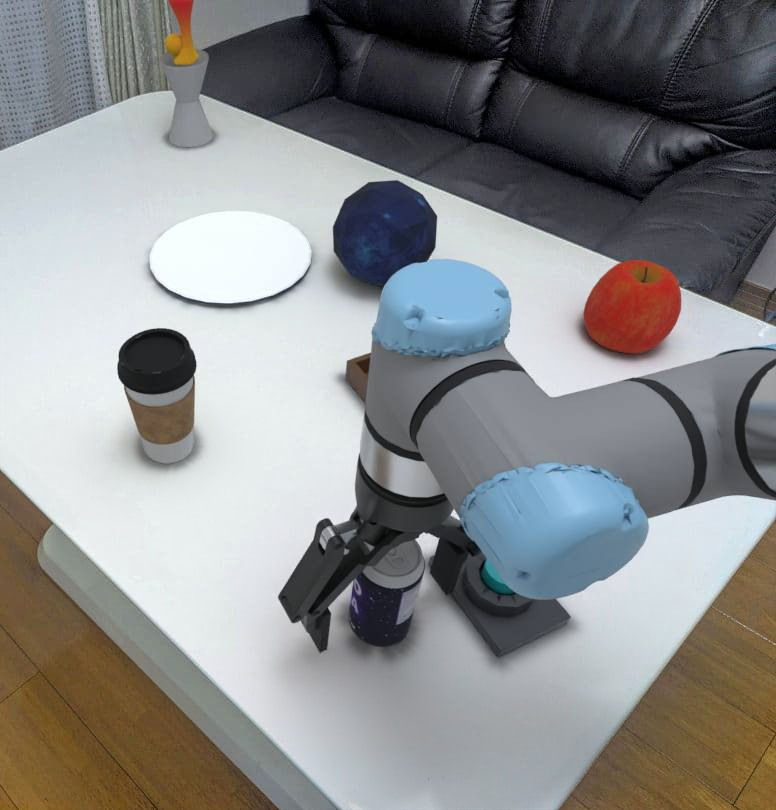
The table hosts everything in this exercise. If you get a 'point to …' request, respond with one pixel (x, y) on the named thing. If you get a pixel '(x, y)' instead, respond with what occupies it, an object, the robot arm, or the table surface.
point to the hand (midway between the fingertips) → (380, 610)
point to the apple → (633, 307)
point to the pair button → (494, 579)
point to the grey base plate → (503, 610)
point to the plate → (230, 257)
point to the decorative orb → (383, 231)
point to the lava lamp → (186, 81)
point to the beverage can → (387, 595)
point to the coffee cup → (160, 391)
